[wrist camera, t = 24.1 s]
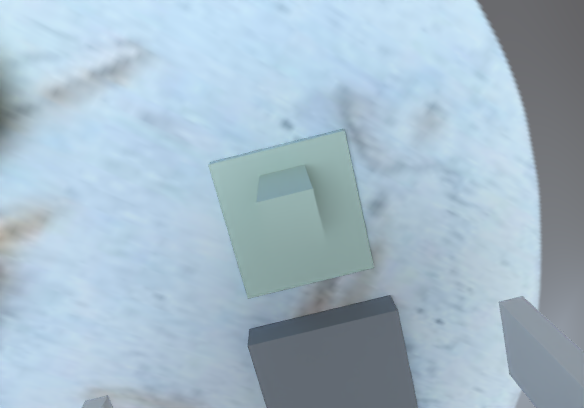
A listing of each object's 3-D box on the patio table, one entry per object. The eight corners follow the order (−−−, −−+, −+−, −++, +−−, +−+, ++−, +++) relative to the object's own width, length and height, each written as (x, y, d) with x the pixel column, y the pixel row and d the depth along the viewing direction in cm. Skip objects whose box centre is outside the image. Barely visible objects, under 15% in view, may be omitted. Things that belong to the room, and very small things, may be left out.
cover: (248, 291, 47) (242, 353, 36) (210, 161, 43) (191, 189, 33) (371, 261, 46) (398, 315, 36) (342, 128, 43) (364, 146, 33)
